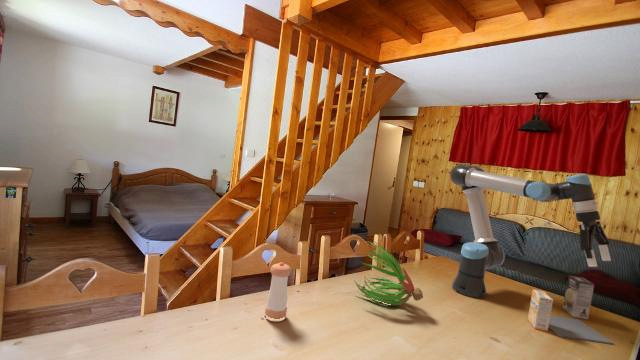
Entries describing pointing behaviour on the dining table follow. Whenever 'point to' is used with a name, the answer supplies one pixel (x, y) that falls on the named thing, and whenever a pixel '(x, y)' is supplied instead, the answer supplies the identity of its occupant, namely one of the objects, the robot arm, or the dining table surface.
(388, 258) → the decorative plant
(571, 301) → the coffee box
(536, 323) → the supplement box
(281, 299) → the pepper shaker
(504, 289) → the dining table surface
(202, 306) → the dining table surface
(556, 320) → the mat
